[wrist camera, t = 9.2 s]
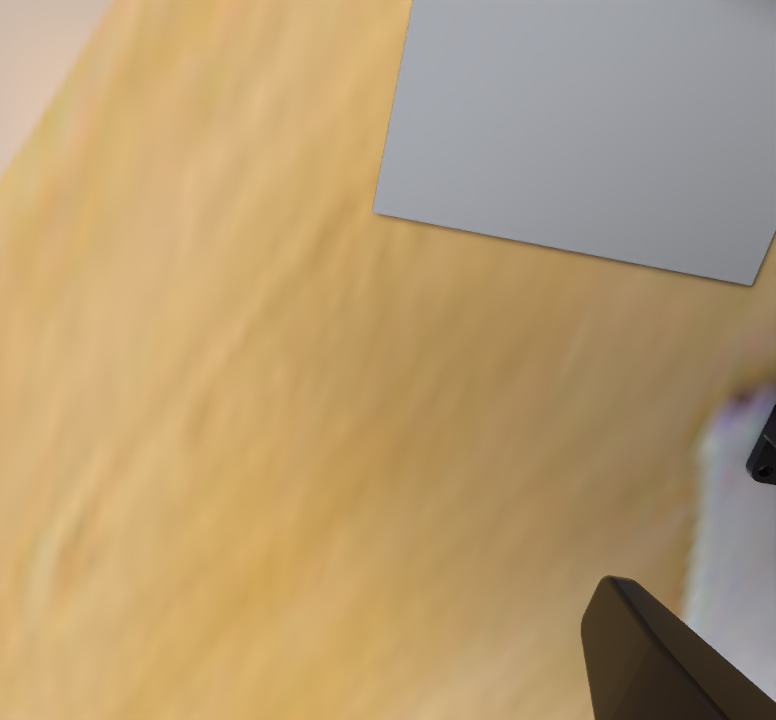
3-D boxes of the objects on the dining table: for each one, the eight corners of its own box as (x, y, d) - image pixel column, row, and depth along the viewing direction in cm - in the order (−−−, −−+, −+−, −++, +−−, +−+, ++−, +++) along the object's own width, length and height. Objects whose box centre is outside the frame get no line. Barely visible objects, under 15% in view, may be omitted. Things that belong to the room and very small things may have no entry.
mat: (884, -39, 18) (895, -41, 18) (745, 281, 22) (751, 285, 22) (442, -153, 17) (444, -158, 17) (372, 209, 21) (372, 212, 20)
